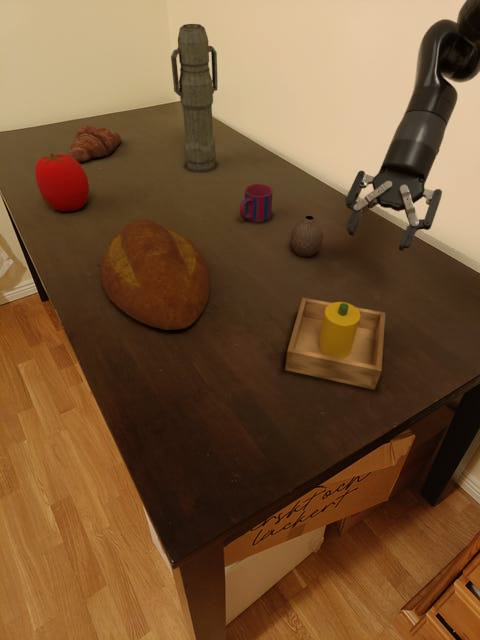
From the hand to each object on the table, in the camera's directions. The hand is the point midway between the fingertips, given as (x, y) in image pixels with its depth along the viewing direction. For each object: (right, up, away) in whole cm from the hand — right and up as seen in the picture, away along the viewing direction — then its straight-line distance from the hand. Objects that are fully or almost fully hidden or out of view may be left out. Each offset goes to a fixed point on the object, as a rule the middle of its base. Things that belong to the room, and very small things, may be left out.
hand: (375, 241), depth 71 cm
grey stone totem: (-34, +33, +58) cm, 75 cm away
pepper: (-6, -18, +3) cm, 19 cm away
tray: (-6, -18, +4) cm, 20 cm away
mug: (-19, +12, +36) cm, 43 cm away
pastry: (-68, +40, +65) cm, 102 cm away
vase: (-8, +2, +25) cm, 27 cm away
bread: (-39, -6, +17) cm, 43 cm away
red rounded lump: (-67, +16, +40) cm, 79 cm away
